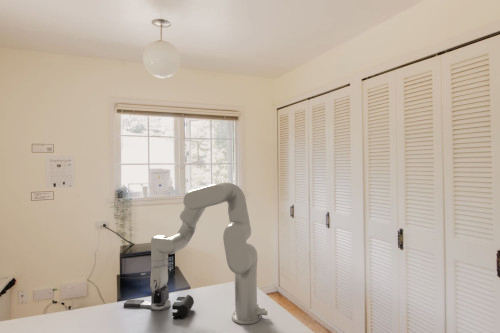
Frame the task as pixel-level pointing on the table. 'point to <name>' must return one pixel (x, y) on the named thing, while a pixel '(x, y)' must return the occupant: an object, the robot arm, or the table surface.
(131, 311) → the table surface
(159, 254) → the robot arm
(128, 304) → the ratchet
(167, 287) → the matte grey cube
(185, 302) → the end cap
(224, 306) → the table surface
